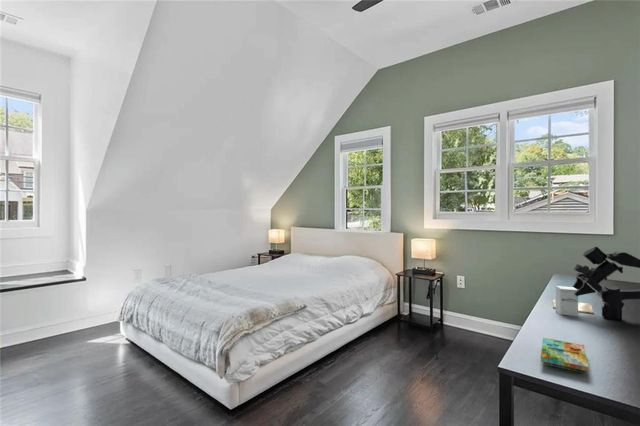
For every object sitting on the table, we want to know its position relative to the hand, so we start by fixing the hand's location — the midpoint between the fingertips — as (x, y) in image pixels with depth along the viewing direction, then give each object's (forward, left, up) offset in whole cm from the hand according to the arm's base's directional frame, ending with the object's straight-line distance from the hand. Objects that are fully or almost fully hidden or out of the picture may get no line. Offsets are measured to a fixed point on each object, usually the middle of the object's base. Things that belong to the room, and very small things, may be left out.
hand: (573, 293), depth 158 cm
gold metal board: (0, -15, -10) cm, 18 cm away
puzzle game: (+4, +64, -11) cm, 65 cm away
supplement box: (+3, 0, -10) cm, 11 cm away
